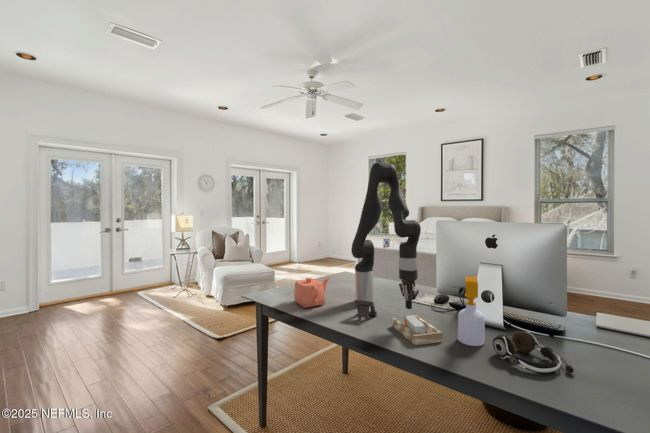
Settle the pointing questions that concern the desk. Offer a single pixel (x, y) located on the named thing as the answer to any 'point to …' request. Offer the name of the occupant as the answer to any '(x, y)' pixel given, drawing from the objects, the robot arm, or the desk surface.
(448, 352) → the desk surface
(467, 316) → the soap bottle
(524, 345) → the headset
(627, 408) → the desk surface
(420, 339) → the wooden tray
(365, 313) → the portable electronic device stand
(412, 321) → the skincare box
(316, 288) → the teapot
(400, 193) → the robot arm
